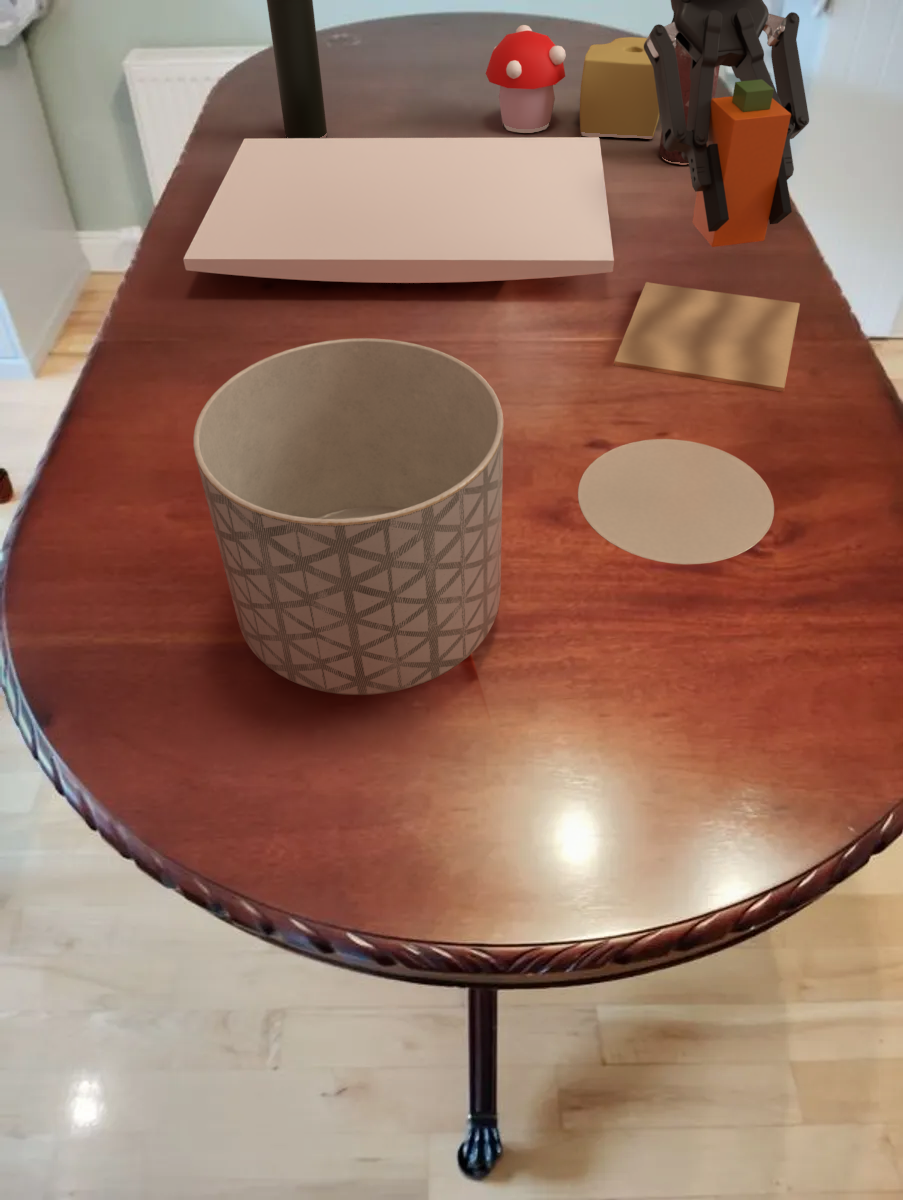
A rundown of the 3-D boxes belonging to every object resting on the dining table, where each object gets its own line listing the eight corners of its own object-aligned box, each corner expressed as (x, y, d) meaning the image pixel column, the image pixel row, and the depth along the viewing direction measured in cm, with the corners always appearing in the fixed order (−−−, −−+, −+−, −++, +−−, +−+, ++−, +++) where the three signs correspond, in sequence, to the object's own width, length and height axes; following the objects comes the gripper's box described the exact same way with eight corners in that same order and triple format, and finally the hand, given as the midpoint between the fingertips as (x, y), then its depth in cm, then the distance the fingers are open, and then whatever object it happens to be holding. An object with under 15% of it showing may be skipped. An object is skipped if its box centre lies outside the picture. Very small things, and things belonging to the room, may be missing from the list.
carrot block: (742, 216, 93) (770, 72, 84) (764, 241, 90) (796, 93, 81) (691, 222, 93) (714, 77, 84) (712, 247, 89) (737, 99, 80)
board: (596, 174, 128) (599, 137, 125) (609, 302, 106) (613, 260, 102) (250, 175, 131) (244, 138, 127) (192, 299, 108) (183, 258, 105)
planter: (522, 554, 79) (530, 355, 66) (466, 746, 66) (462, 545, 53) (297, 520, 83) (262, 323, 69) (202, 695, 70) (137, 495, 57)
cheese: (585, 110, 143) (590, 33, 136) (661, 114, 142) (670, 36, 135) (576, 139, 136) (581, 59, 129) (656, 143, 135) (665, 63, 127)
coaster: (797, 311, 104) (800, 303, 103) (782, 396, 93) (784, 387, 92) (644, 290, 107) (645, 281, 107) (613, 369, 97) (614, 361, 96)
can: (706, 148, 133) (724, 32, 123) (704, 168, 129) (722, 49, 119) (660, 145, 134) (675, 30, 124) (656, 164, 130) (670, 47, 120)
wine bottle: (316, 126, 142) (286, -132, 120) (334, 139, 138) (306, -124, 117) (279, 135, 140) (242, -126, 118) (296, 149, 136) (261, -117, 115)
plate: (782, 462, 86) (783, 457, 86) (761, 587, 76) (762, 582, 75) (600, 430, 90) (601, 425, 90) (556, 545, 80) (556, 540, 79)
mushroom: (558, 142, 136) (564, 45, 127) (479, 138, 137) (479, 42, 129) (566, 112, 143) (571, 19, 134) (490, 109, 145) (491, 17, 136)
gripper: (787, -28, 91) (825, 226, 92) (597, -11, 89) (637, 248, 90) (828, -83, 84) (869, 193, 84) (622, -67, 82) (665, 217, 82)
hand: (749, 221), depth 87 cm, fingers closed on carrot block, 5 cm apart
